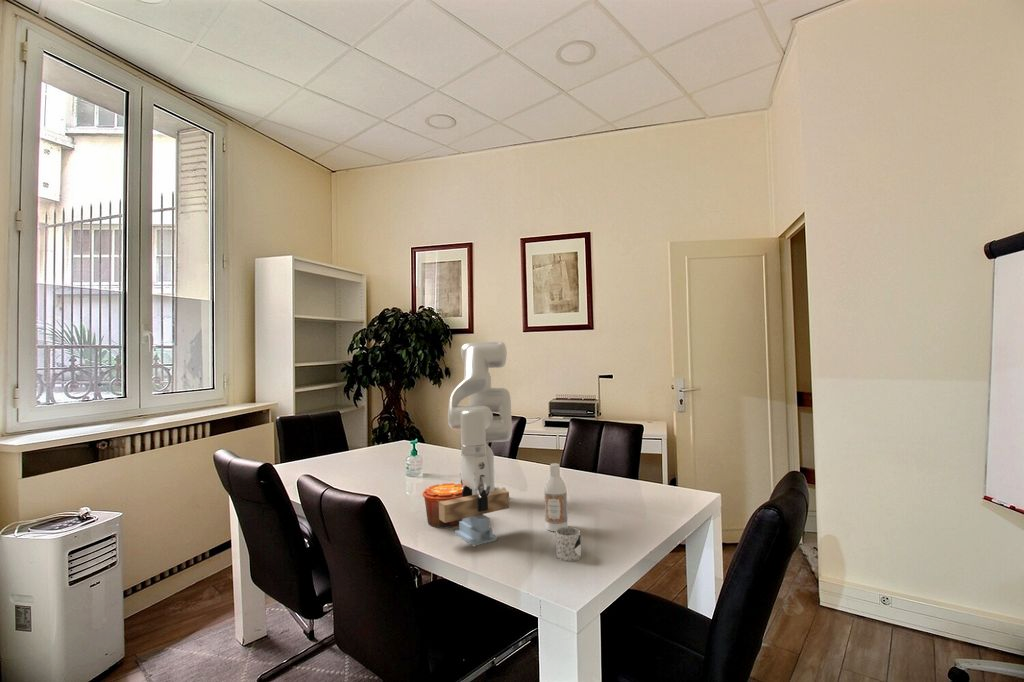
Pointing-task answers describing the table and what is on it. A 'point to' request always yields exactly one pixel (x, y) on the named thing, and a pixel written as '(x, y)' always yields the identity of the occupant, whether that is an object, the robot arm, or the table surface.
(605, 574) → the table surface
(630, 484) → the table surface
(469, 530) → the light blue stepped block
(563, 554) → the mug
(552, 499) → the bath foam
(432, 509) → the food container
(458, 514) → the light brown wooden bar
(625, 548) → the table surface
